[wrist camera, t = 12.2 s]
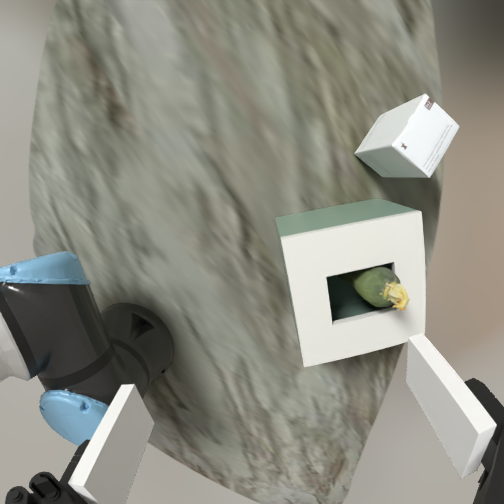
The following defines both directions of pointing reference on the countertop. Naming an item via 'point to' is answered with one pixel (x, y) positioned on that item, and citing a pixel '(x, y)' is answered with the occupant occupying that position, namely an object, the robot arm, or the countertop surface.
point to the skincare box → (408, 139)
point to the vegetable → (378, 286)
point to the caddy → (346, 260)
